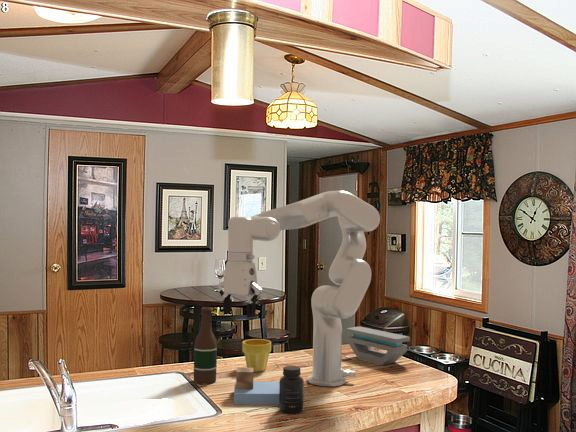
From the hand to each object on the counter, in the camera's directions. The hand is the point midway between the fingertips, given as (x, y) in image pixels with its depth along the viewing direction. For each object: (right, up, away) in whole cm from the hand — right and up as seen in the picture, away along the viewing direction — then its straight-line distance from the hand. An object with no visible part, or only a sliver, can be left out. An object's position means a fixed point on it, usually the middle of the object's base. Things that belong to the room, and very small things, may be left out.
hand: (239, 314), depth 168 cm
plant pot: (+4, -25, +30) cm, 39 cm away
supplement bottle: (+16, -25, -13) cm, 32 cm away
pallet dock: (+7, -24, -2) cm, 25 cm away
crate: (+2, -21, -1) cm, 21 cm away
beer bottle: (-12, -24, +14) cm, 30 cm away
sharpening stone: (+49, -26, +46) cm, 72 cm away
